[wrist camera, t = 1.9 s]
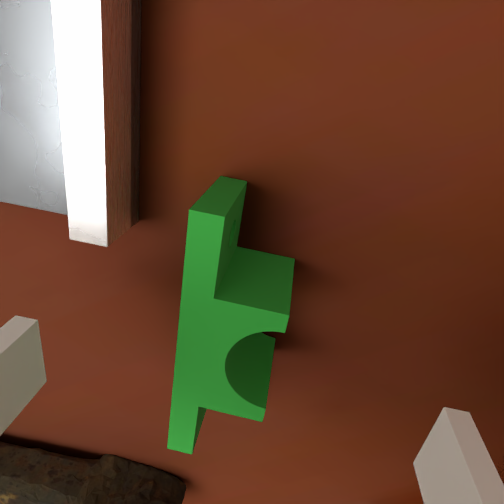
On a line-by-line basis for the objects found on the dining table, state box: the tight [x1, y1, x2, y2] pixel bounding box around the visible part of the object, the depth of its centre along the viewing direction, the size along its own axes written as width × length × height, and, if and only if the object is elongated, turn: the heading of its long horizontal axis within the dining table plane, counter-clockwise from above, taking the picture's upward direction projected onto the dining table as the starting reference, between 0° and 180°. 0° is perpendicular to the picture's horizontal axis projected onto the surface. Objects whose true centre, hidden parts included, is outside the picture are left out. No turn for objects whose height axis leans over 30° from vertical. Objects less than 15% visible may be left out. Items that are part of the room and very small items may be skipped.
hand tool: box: [0, 442, 186, 504], centre depth 23 cm, size 19×4×5 cm, turn 84°
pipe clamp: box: [167, 176, 295, 454], centre depth 16 cm, size 11×4×5 cm, turn 171°
